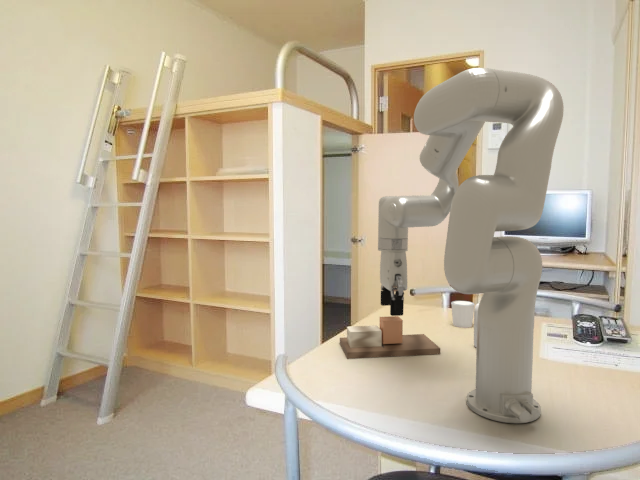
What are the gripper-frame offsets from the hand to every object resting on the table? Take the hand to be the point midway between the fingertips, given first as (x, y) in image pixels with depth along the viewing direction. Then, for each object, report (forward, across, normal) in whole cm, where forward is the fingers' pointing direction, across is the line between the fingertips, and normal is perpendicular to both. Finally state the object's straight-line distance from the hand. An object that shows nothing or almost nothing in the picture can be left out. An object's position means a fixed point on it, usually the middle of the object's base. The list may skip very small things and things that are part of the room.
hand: (391, 310), depth 115 cm
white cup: (+10, +17, -27) cm, 34 cm away
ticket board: (+10, -1, +1) cm, 10 cm away
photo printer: (+10, -6, -25) cm, 28 cm away
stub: (+8, -1, 0) cm, 8 cm away
